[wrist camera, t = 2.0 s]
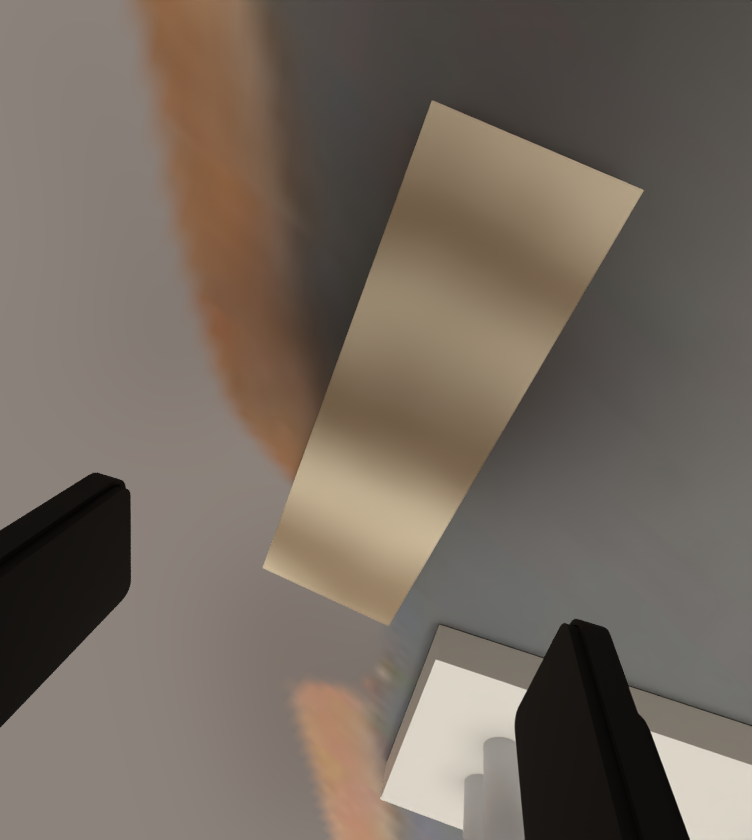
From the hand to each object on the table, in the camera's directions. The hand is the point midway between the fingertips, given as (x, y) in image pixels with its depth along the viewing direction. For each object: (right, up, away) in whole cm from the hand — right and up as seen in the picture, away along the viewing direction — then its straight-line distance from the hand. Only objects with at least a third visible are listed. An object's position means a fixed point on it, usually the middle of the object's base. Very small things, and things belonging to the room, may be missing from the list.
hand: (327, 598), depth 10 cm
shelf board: (+3, +5, +9) cm, 10 cm away
